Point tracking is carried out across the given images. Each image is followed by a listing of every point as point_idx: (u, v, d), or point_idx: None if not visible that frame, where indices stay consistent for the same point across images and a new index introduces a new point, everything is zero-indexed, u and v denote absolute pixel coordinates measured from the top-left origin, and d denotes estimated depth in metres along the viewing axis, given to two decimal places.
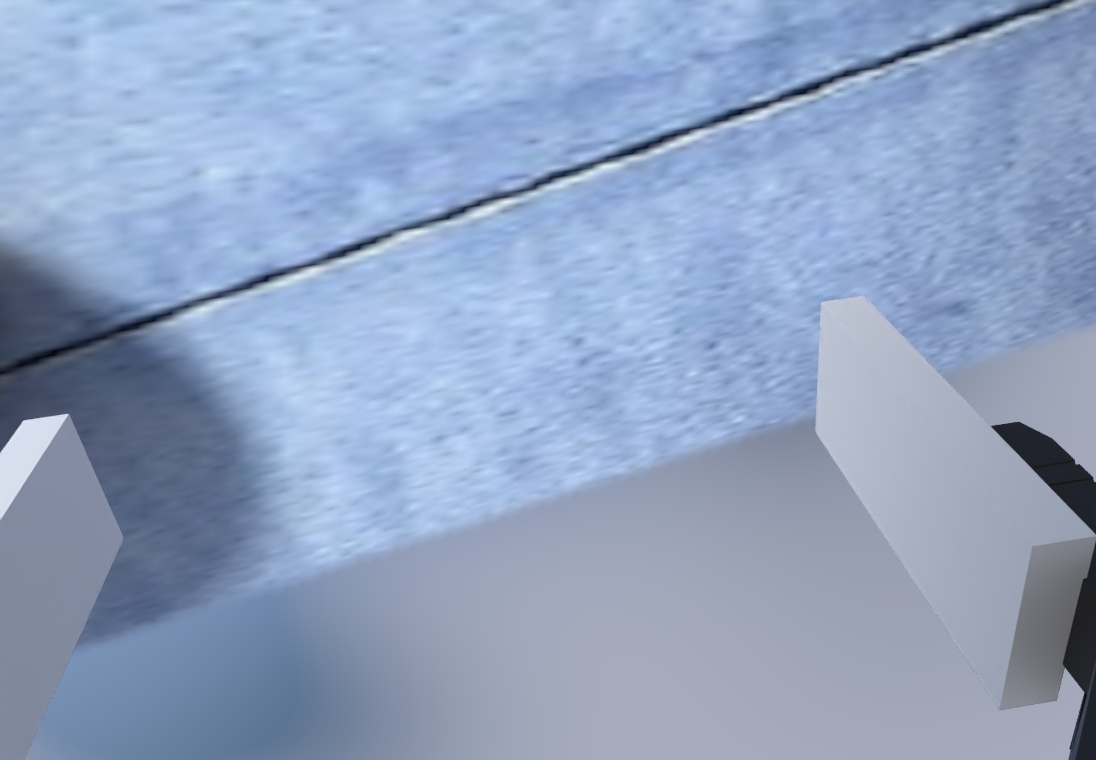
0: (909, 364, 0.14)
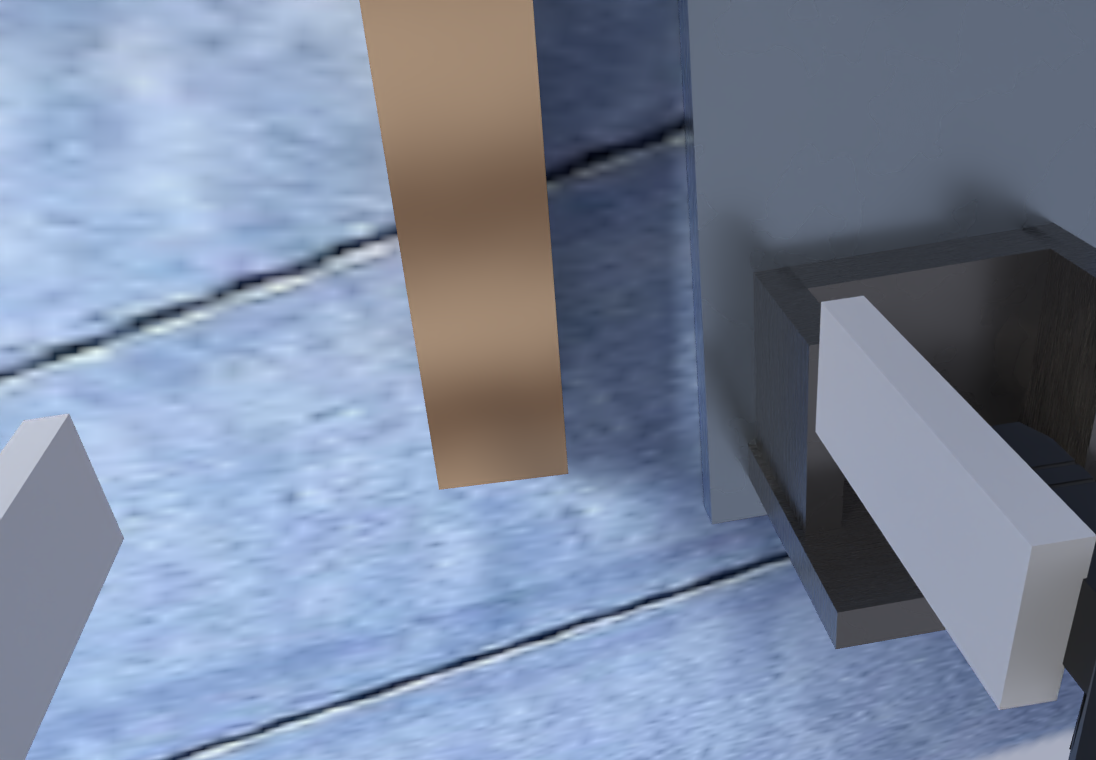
0: (909, 364, 0.14)
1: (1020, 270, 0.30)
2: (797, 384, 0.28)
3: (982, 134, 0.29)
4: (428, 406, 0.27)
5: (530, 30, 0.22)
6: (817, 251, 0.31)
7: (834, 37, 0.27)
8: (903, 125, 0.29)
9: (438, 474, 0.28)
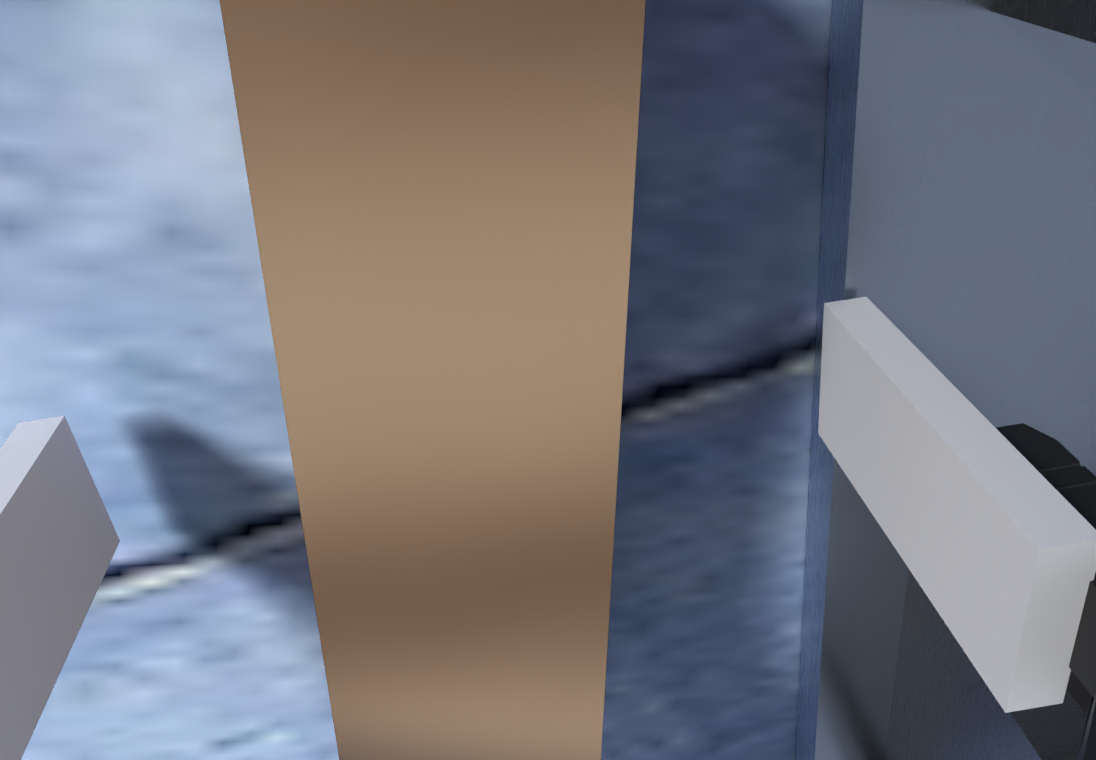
0: (913, 365, 0.14)
1: None
2: None
3: None
4: None
5: (618, 306, 0.11)
6: None
7: (1091, 227, 0.16)
8: None
9: None
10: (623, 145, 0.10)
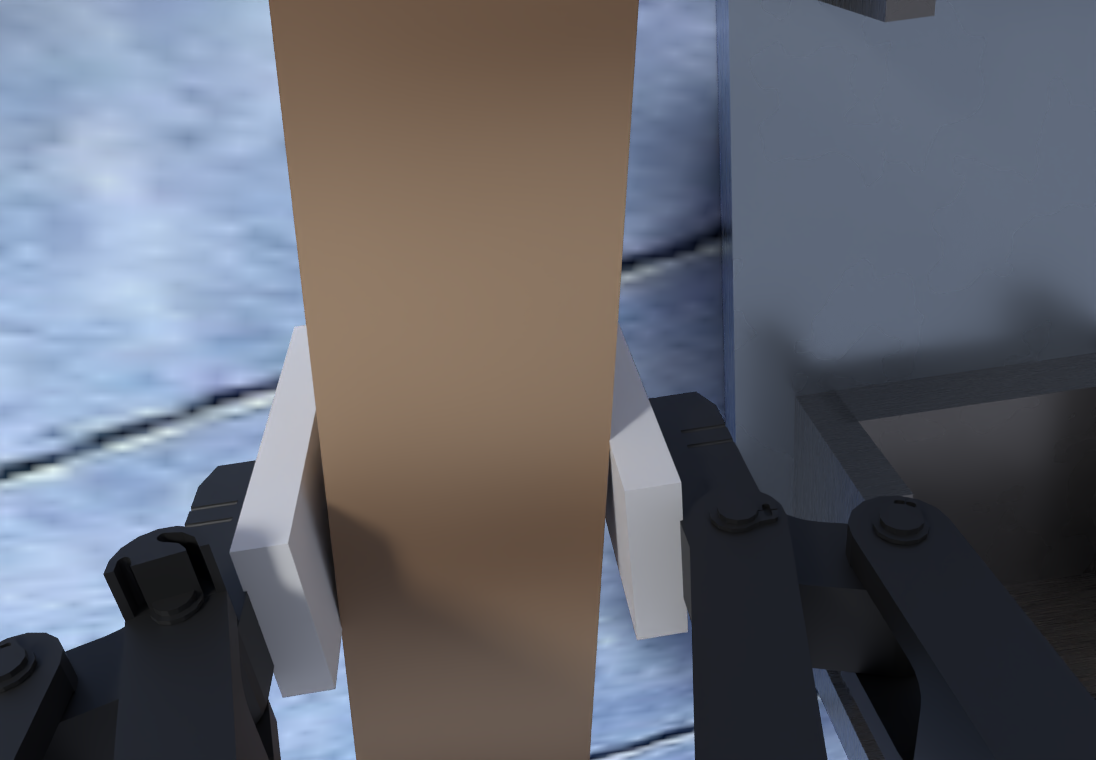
0: None
1: None
2: None
3: (1060, 250, 0.26)
4: None
5: (611, 295, 0.12)
6: (868, 374, 0.27)
7: (896, 144, 0.24)
8: (971, 239, 0.26)
9: None
10: (616, 152, 0.11)
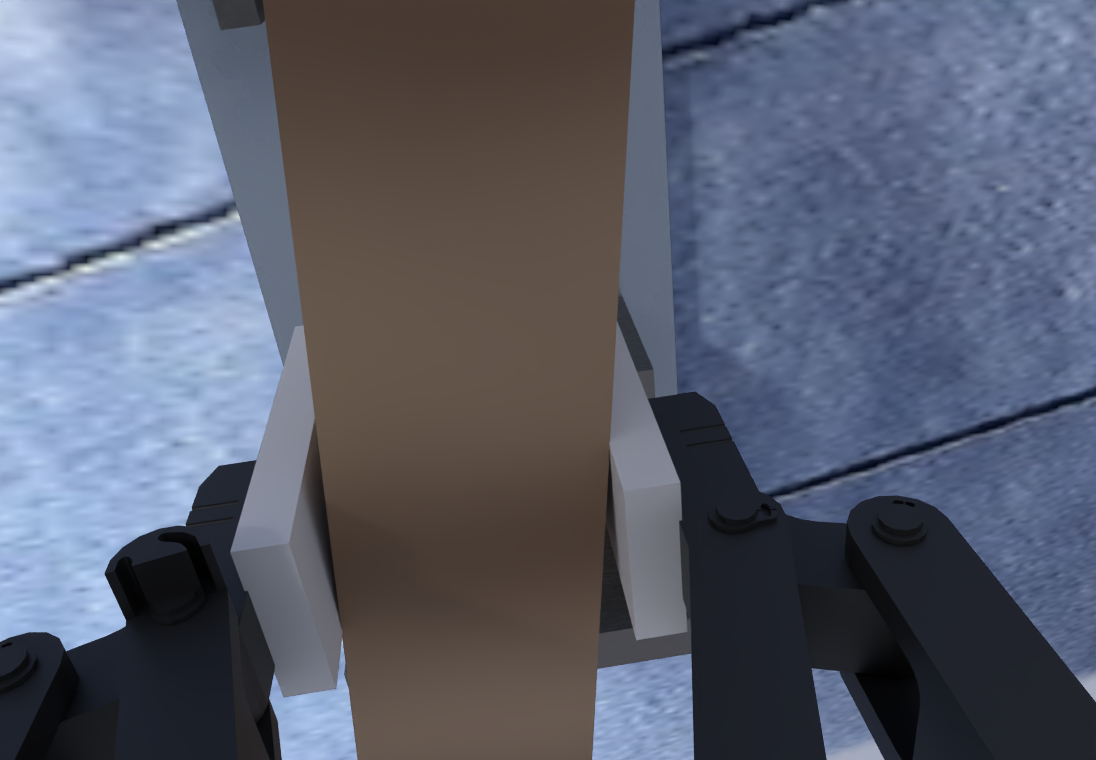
0: None
1: None
2: None
3: None
4: None
5: (609, 300, 0.12)
6: None
7: None
8: None
9: None
10: (614, 157, 0.11)
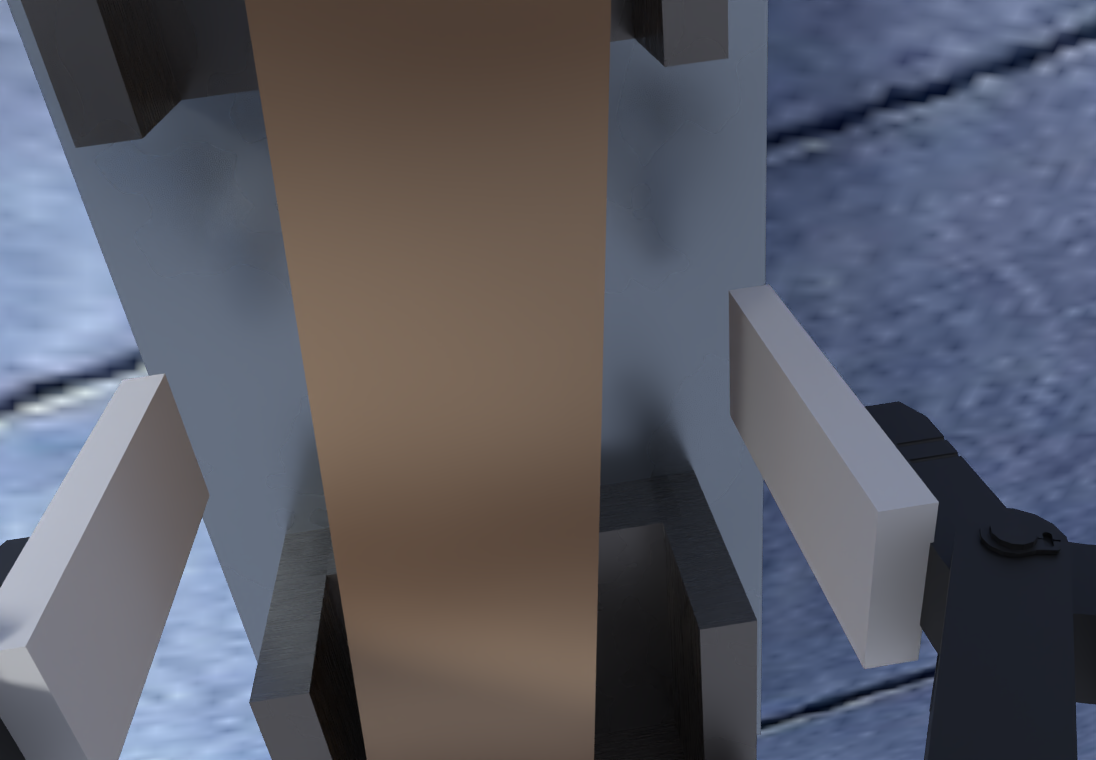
0: (799, 347, 0.15)
1: (626, 548, 0.22)
2: None
3: None
4: None
5: (596, 291, 0.12)
6: None
7: None
8: None
9: None
10: (595, 151, 0.11)
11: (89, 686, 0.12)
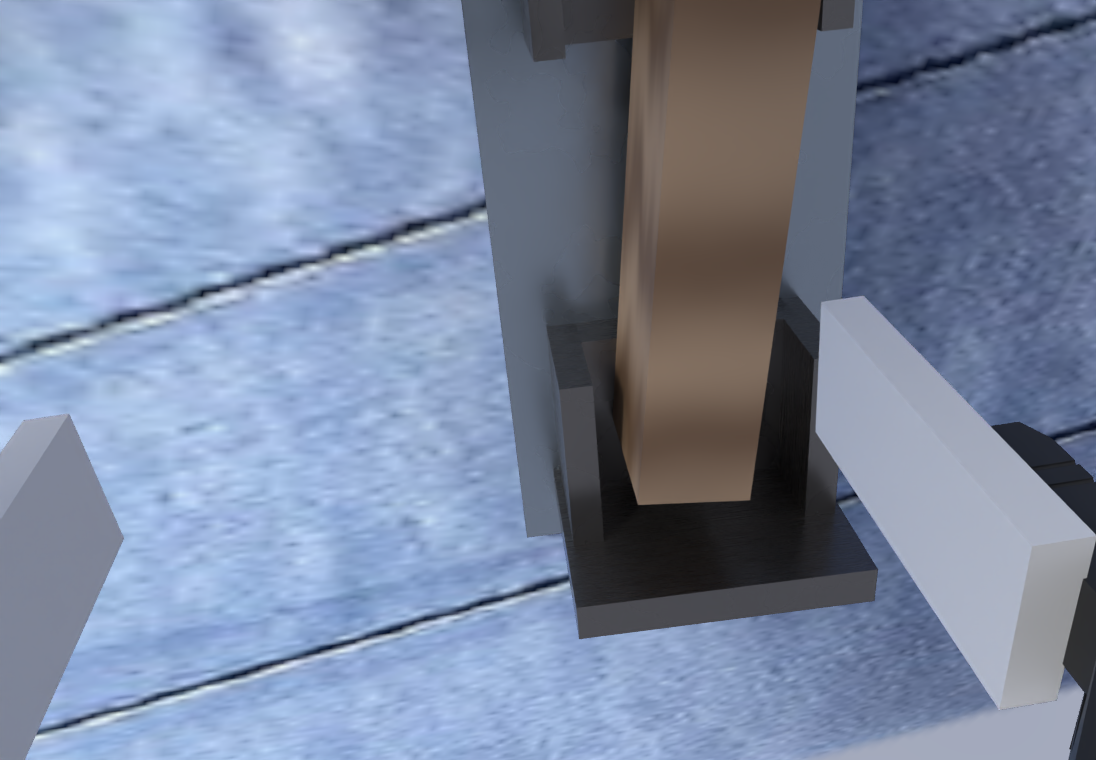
0: (909, 364, 0.14)
1: None
2: (560, 420, 0.35)
3: None
4: (645, 431, 0.31)
5: (799, 126, 0.27)
6: (599, 311, 0.37)
7: (597, 143, 0.34)
8: None
9: (640, 491, 0.32)
10: (807, 59, 0.26)
11: None
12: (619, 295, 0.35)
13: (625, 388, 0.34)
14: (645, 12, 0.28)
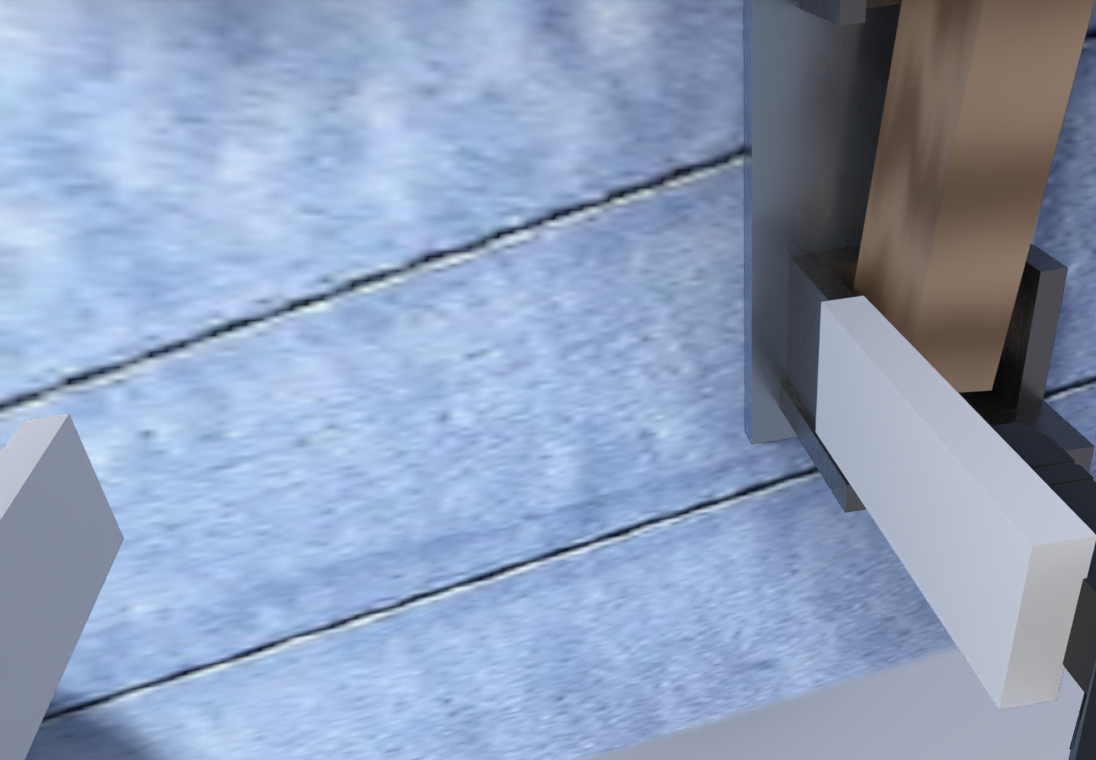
0: (909, 364, 0.14)
1: None
2: None
3: None
4: (916, 332, 0.37)
5: (1072, 72, 0.33)
6: (834, 241, 0.44)
7: (849, 94, 0.40)
8: None
9: None
10: (1086, 16, 0.32)
11: None
12: (865, 224, 0.41)
13: (876, 302, 0.41)
14: None
